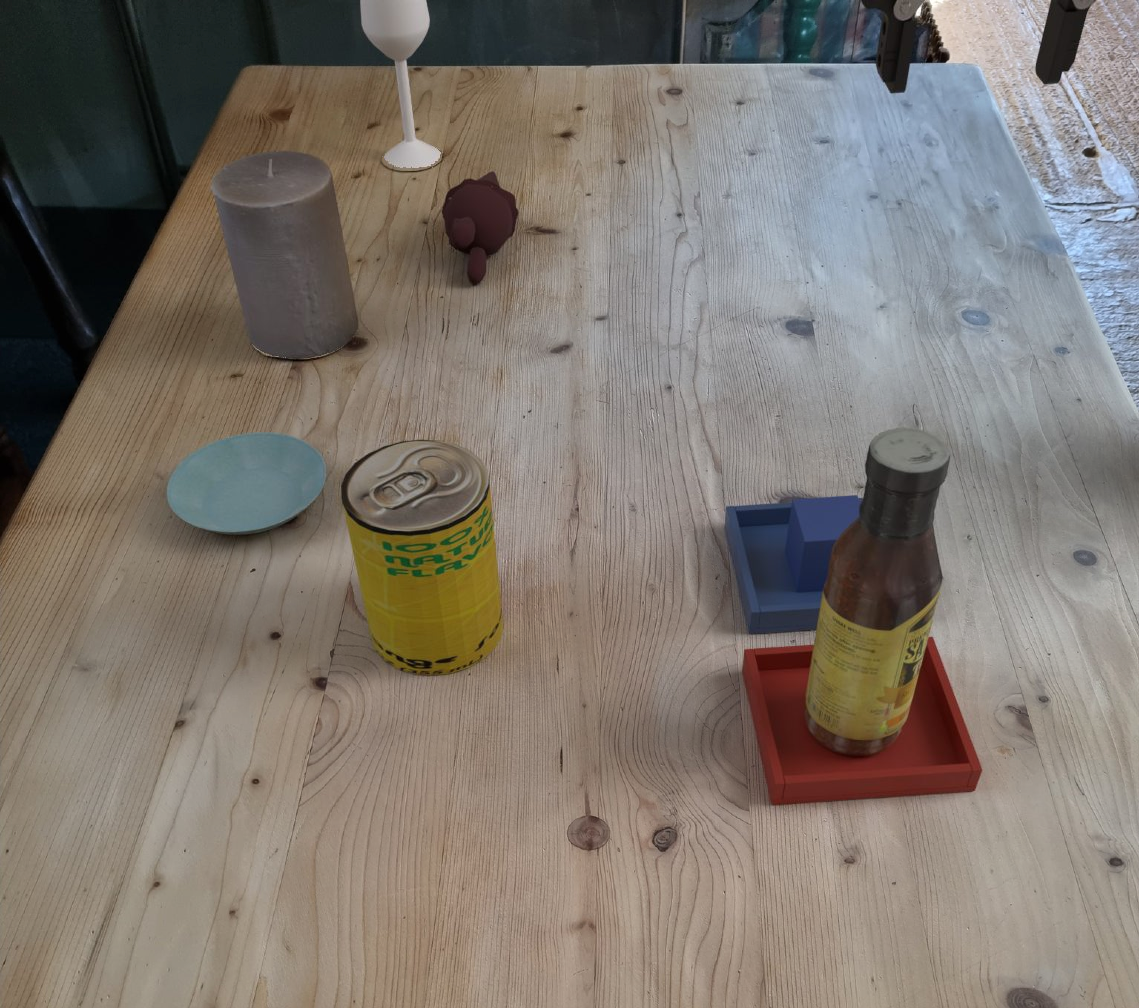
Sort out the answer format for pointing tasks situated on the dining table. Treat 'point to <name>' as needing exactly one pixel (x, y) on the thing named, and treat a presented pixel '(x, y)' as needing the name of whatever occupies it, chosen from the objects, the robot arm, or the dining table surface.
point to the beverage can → (425, 554)
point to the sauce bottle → (879, 599)
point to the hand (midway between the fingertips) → (970, 83)
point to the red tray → (815, 773)
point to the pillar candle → (287, 252)
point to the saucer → (246, 483)
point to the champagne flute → (400, 66)
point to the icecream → (479, 221)
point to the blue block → (816, 536)
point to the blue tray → (767, 570)
